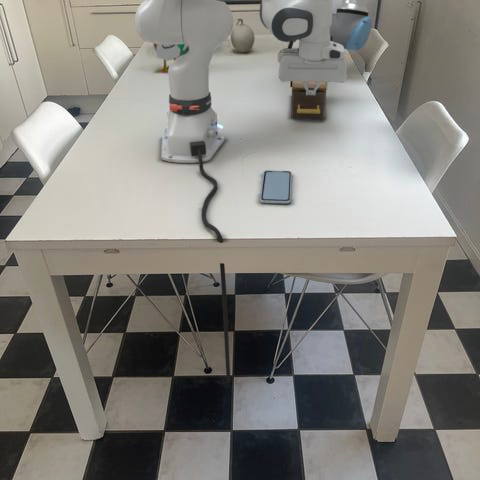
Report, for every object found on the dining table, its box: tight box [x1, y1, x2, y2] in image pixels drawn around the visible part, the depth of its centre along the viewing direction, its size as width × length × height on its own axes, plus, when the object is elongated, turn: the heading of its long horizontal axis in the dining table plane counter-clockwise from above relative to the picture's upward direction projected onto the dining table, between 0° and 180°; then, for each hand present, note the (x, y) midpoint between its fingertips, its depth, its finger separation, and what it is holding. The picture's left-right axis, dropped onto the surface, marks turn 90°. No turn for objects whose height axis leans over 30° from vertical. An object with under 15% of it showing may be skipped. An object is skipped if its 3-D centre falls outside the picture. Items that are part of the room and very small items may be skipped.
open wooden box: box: [290, 81, 328, 120], centre depth 172 cm, size 20×11×10 cm, turn 174°
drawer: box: [292, 90, 325, 120], centre depth 167 cm, size 24×10×8 cm, turn 174°
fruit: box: [230, 18, 255, 53], centre depth 228 cm, size 10×12×15 cm
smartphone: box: [259, 169, 293, 205], centre depth 129 cm, size 7×1×15 cm
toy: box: [153, 43, 188, 73], centre depth 204 cm, size 8×20×24 cm, turn 69°
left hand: (310, 94), depth 157 cm, fingers closed
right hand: (308, 86), depth 176 cm, fingers closed on open wooden box, 11 cm apart
